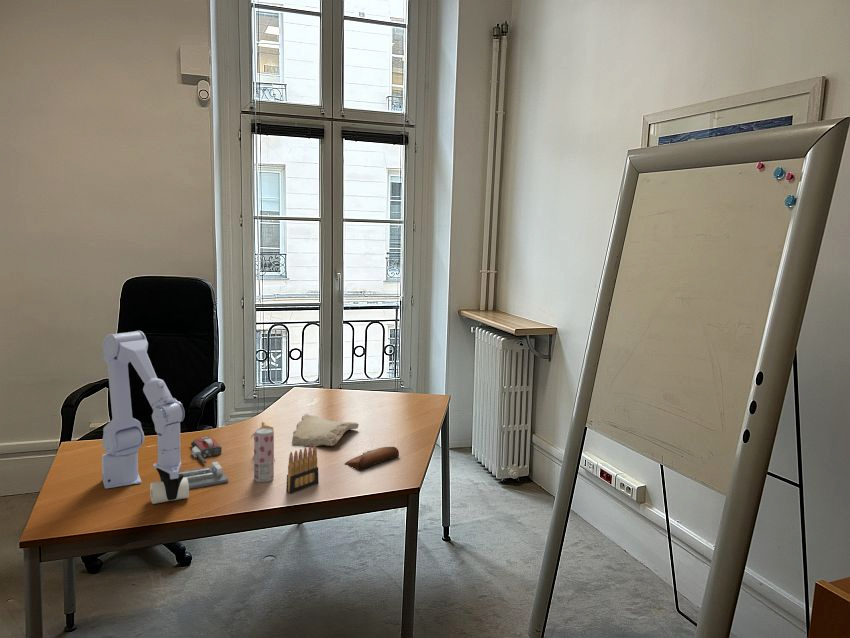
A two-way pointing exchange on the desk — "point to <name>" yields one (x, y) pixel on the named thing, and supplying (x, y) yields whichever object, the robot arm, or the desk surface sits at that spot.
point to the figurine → (264, 427)
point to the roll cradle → (205, 476)
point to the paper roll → (160, 493)
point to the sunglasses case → (373, 457)
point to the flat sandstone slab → (319, 431)
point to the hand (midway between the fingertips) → (169, 495)
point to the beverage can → (263, 455)
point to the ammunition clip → (302, 470)
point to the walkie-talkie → (205, 448)
